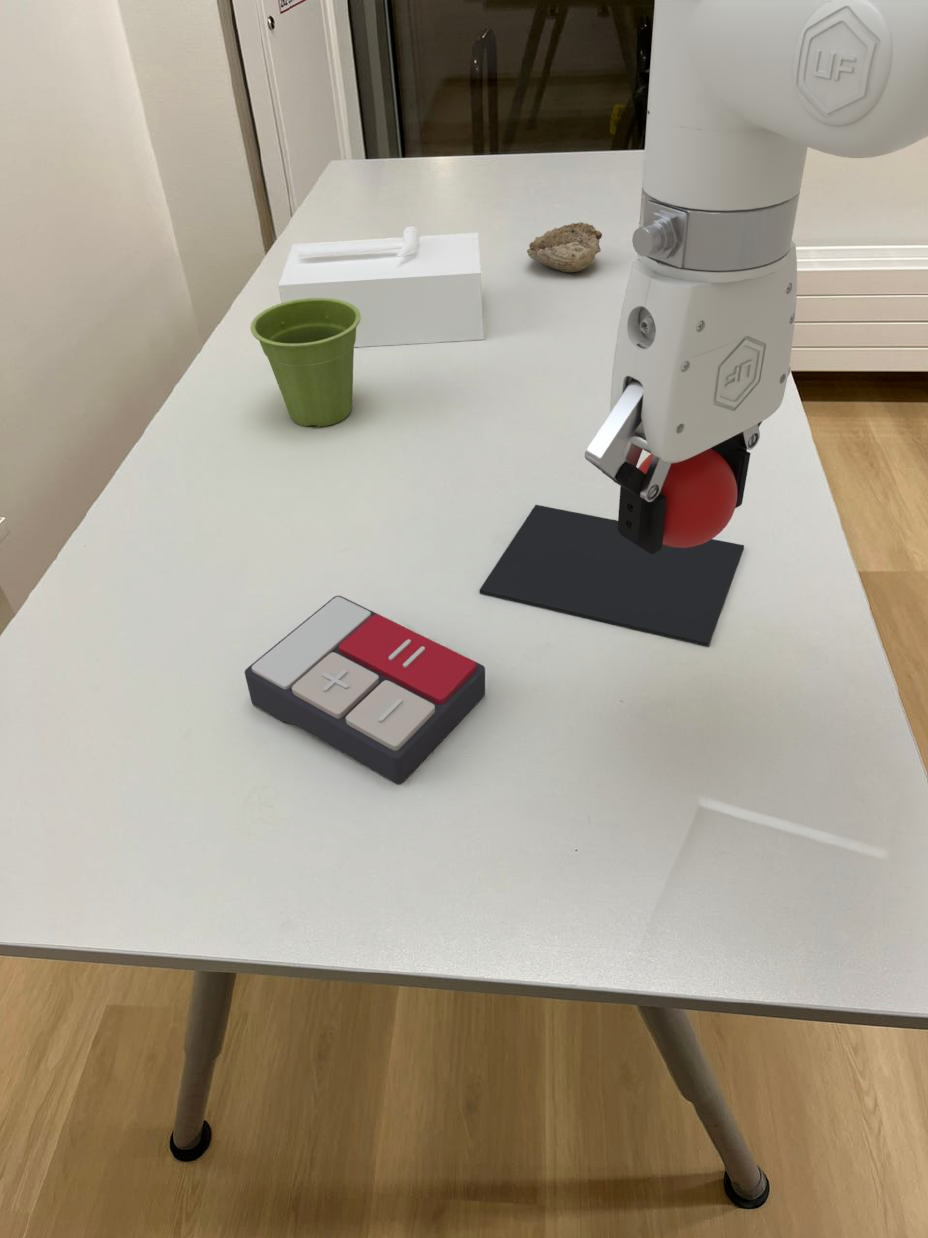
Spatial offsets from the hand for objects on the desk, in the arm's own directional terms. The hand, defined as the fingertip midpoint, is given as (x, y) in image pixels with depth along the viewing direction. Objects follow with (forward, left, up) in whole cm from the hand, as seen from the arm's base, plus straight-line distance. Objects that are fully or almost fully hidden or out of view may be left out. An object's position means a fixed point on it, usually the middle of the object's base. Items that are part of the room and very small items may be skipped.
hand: (680, 517), depth 59 cm
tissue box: (+52, -58, -18) cm, 80 cm away
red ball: (0, 0, +2) cm, 2 cm away
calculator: (+21, +6, -18) cm, 29 cm away
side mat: (+8, -16, -18) cm, 25 cm away
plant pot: (+48, -33, -18) cm, 61 cm away
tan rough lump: (+36, -83, -18) cm, 92 cm away
